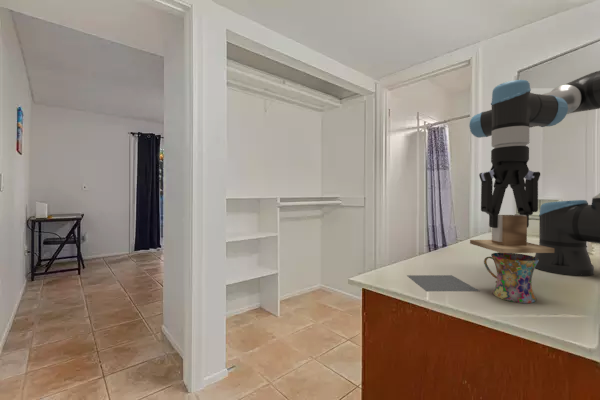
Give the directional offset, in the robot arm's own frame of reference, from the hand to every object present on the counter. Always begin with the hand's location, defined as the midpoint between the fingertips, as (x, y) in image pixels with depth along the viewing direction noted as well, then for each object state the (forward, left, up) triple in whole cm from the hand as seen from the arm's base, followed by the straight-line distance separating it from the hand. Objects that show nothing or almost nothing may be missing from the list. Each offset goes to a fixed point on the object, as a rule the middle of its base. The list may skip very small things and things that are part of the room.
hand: (508, 240), depth 70 cm
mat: (+12, -10, -14) cm, 21 cm away
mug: (0, 0, -14) cm, 14 cm away
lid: (0, 0, -2) cm, 2 cm away
